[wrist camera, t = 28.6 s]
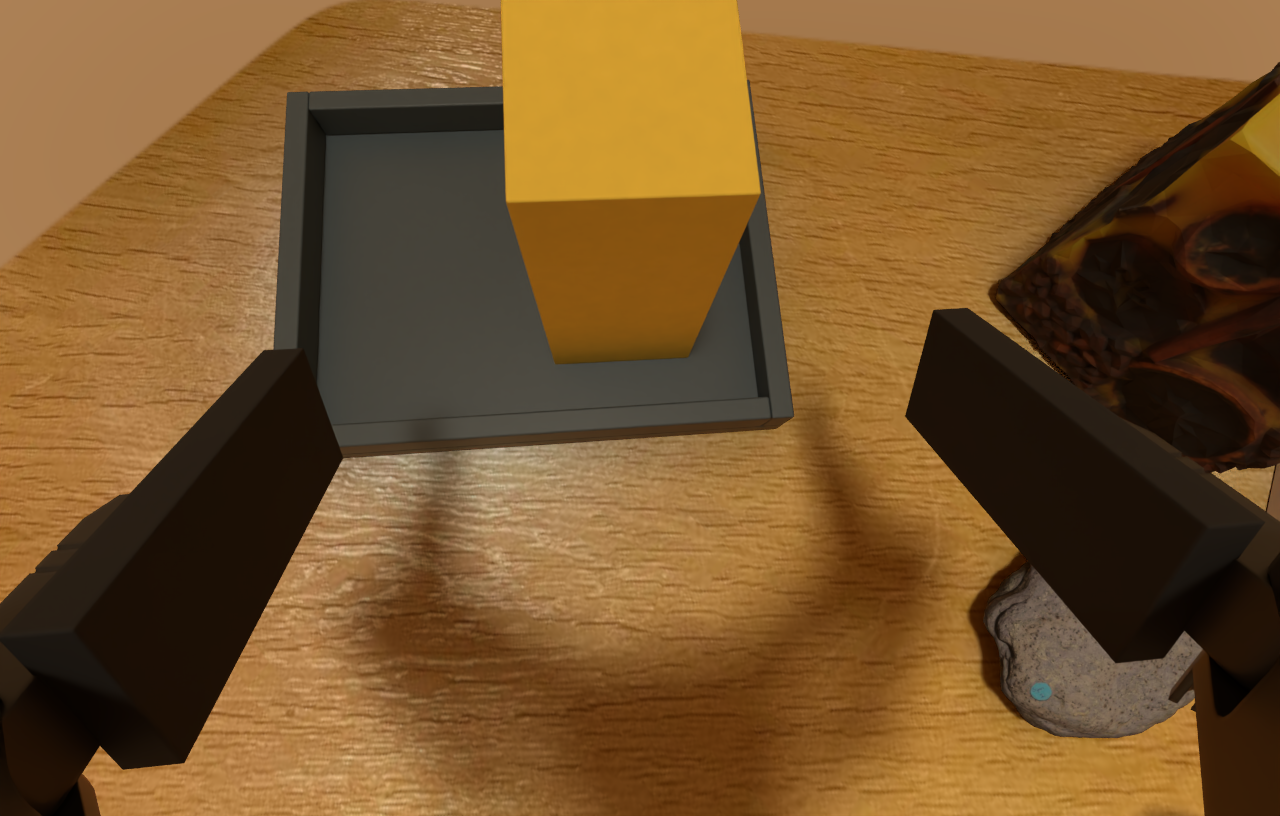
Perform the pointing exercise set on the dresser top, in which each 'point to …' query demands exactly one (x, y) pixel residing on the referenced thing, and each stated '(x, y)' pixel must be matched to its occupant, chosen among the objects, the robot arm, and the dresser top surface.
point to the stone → (1075, 667)
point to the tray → (477, 294)
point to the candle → (1176, 288)
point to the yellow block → (626, 167)
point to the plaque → (1275, 496)
